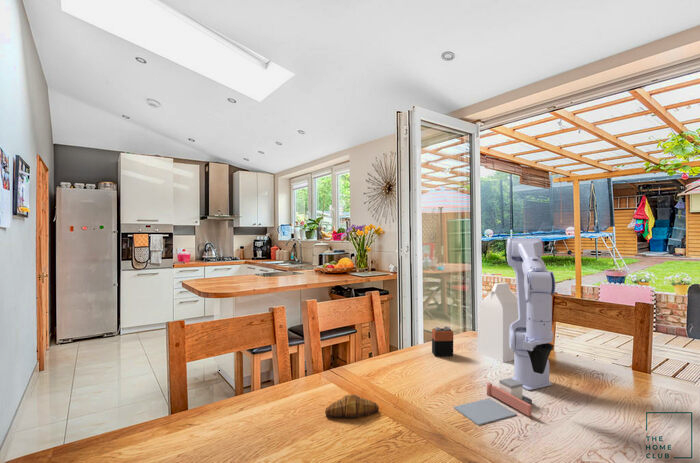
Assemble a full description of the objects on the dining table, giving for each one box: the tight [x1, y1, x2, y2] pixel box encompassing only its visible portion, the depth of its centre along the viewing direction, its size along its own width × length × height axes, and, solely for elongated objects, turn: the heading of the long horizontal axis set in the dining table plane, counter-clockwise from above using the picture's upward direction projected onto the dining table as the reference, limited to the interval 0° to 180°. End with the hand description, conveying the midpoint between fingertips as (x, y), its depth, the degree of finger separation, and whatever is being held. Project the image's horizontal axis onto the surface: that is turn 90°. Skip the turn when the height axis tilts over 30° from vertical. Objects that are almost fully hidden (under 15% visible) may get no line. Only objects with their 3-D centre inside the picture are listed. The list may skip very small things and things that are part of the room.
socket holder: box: [521, 394, 533, 405], centre depth 98 cm, size 6×7×1 cm
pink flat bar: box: [486, 382, 533, 417], centre depth 95 cm, size 1×14×3 cm, turn 23°
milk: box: [476, 282, 522, 363], centre depth 133 cm, size 12×12×26 cm
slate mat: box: [453, 397, 518, 426], centre depth 91 cm, size 12×9×1 cm
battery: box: [431, 326, 454, 357], centre depth 132 cm, size 4×7×10 cm, turn 93°
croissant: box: [324, 393, 380, 419], centre depth 90 cm, size 14×7×5 cm, turn 100°
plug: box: [498, 377, 524, 399], centre depth 97 cm, size 4×4×5 cm
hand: (538, 372), depth 92 cm, fingers closed
